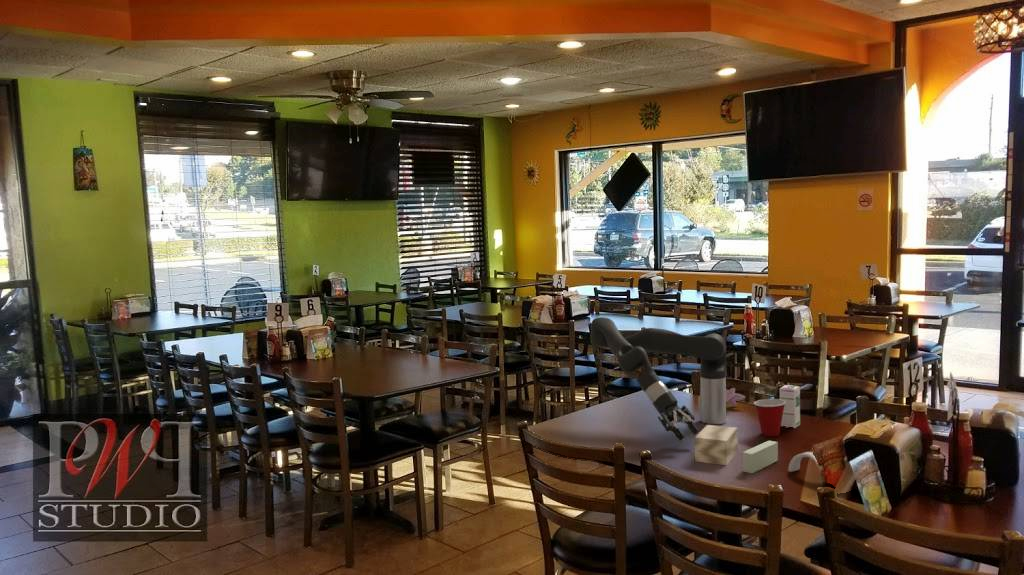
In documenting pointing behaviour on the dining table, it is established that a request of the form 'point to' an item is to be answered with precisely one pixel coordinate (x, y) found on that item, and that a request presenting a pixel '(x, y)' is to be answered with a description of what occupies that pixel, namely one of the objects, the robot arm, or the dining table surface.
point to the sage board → (760, 456)
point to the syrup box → (790, 405)
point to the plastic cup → (770, 415)
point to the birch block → (716, 444)
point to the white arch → (796, 461)
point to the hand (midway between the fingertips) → (689, 436)
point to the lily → (732, 397)
